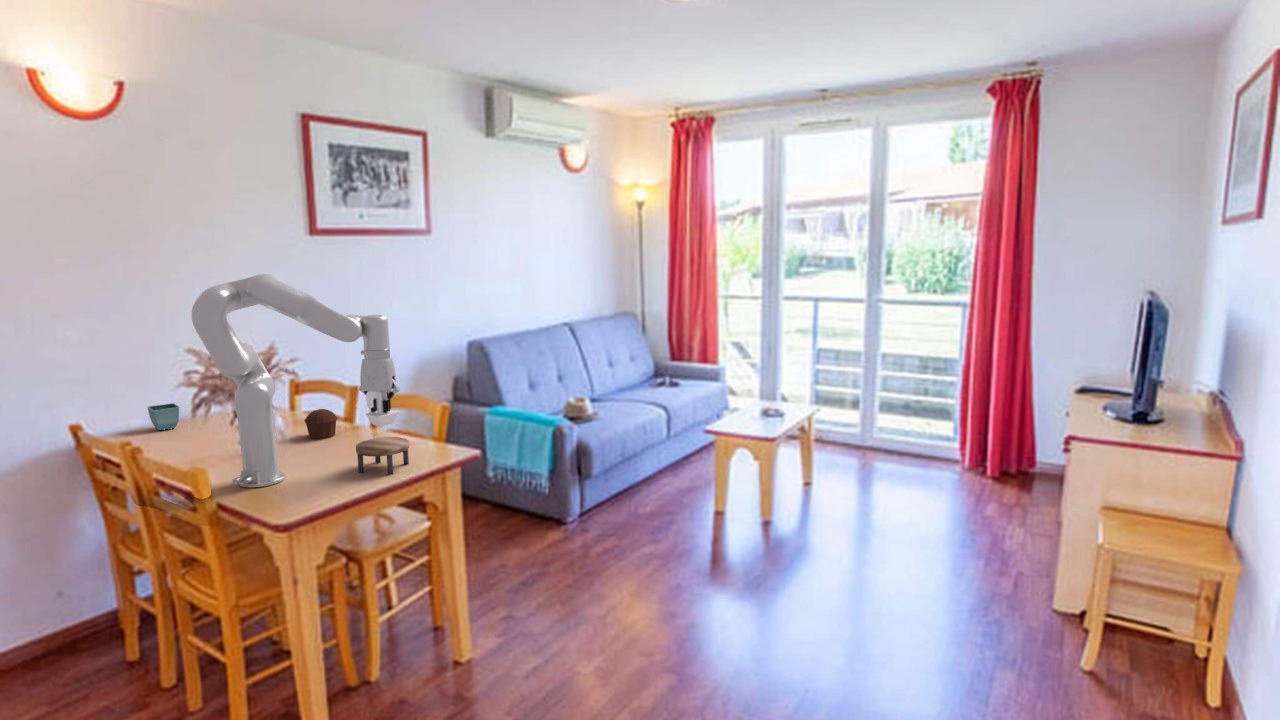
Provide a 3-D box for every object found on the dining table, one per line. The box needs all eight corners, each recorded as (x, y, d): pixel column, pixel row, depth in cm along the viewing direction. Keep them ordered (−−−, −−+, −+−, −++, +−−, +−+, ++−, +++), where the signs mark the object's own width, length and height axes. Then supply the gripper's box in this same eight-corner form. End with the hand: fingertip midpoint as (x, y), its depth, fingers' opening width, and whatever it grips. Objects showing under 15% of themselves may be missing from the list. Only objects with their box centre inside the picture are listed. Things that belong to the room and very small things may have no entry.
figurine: (363, 425, 221) (358, 379, 218) (388, 418, 229) (385, 373, 226) (376, 429, 217) (372, 382, 214) (402, 422, 225) (399, 376, 222)
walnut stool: (394, 477, 216) (393, 452, 215) (347, 474, 219) (345, 449, 218) (419, 461, 232) (417, 438, 231) (374, 459, 235) (373, 436, 233)
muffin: (333, 440, 257) (331, 413, 255) (301, 441, 255) (299, 414, 253) (342, 431, 268) (340, 406, 267) (311, 432, 267) (309, 406, 265)
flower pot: (182, 429, 271) (179, 406, 269) (155, 433, 264) (152, 410, 263) (176, 425, 277) (173, 402, 275) (149, 429, 270) (146, 406, 269)
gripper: (346, 355, 217) (350, 413, 220) (395, 357, 214) (399, 415, 217) (359, 351, 224) (363, 407, 227) (407, 353, 221) (410, 409, 225)
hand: (380, 410), depth 222 cm, fingers closed on figurine, 3 cm apart
